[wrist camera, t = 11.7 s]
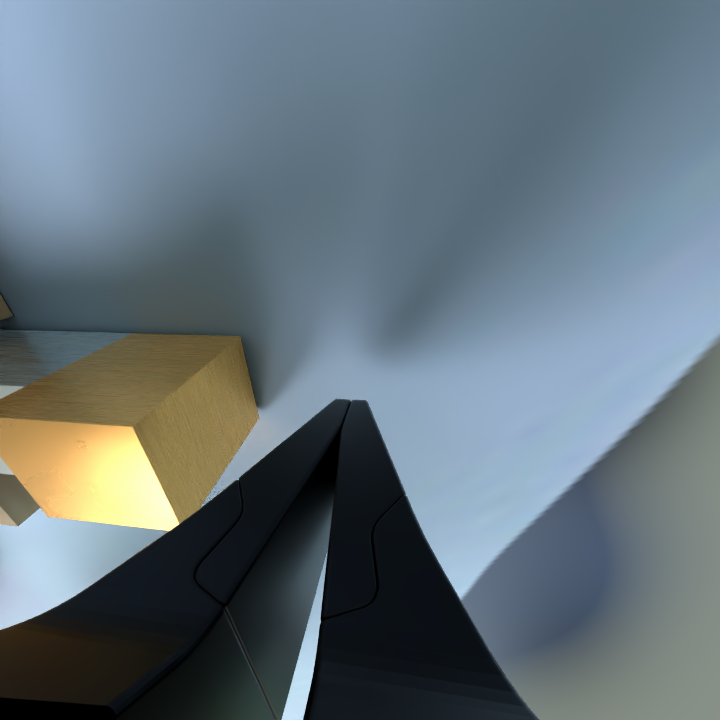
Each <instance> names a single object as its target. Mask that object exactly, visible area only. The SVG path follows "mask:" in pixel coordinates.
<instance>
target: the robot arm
mask: <svg viewBox="0 0 720 720" xmlns="http://www.w3.org/2000/svg"><path fill="white" fill-rule="evenodd" d="M327 549H328V554H327V563H326V573H325V582H324V591H323V601H322V610H321V624H320V629H319V638H318V645H317V653H316V659H315V666H314V672H313V678H312V683H311V687H310V692H309V696H308V701H307V705H306V710H305V714H304V718H303V720H539V719H538V718H537V717H536V716H535V714H534V713H533V712H532V711H531V710H530V708H529V707H528V706H527V704H526V703H525V702H524V701H523V699H522V698H521V697H520V696H519V694H518V693H517V691H516V690H515V689H514V687H513V686H512V684H511V683H510V682H509V680H508V679H507V677H506V676H505V674H504V672H503V671H502V669H501V668H500V666H499V665H498V663H497V662H496V660H495V658H494V657H493V655H492V653H491V652H490V650H489V649H488V647H487V645H486V643H485V642H484V640H483V638H482V636H481V635H480V633H479V631H478V630H477V628H476V626H475V624H474V623H473V621H472V619H471V617H470V616H469V614H468V612H467V610H466V609H465V607H464V605H463V604H462V602H461V600H460V598H459V597H458V595H457V593H456V591H455V590H454V588H453V586H452V584H451V583H450V581H449V579H448V578H447V576H446V574H445V572H444V571H443V569H442V567H441V565H440V564H439V562H438V560H437V558H436V556H435V554H434V552H433V551H432V549H431V547H430V545H429V543H428V541H427V539H426V538H425V536H424V534H423V531H422V529H421V527H420V525H419V523H418V521H417V518H416V516H415V514H414V512H413V510H412V507H411V505H410V502H409V500H408V498H407V496H406V494H405V491H404V488H403V486H402V484H401V481H400V479H399V476H398V474H397V472H396V469H395V467H394V464H393V462H392V460H391V457H390V455H389V452H388V450H387V448H386V445H385V443H384V440H383V438H382V435H381V433H380V431H379V428H378V426H377V423H376V421H375V419H374V416H373V414H372V411H371V409H370V407H369V404H368V402H367V401H365V400H352V401H350V400H346V399H335V400H334V401H332V402H331V403H330V404H329V405H328V406H326V407H325V408H324V409H323V410H321V411H320V412H319V413H318V414H317V415H315V416H314V417H313V418H312V419H310V420H309V421H308V422H307V423H306V424H304V425H303V426H302V427H301V428H299V429H298V430H297V431H296V432H294V433H293V434H292V435H291V436H290V437H288V438H287V439H286V440H285V441H283V442H282V443H281V444H280V445H279V446H277V447H276V448H275V449H274V450H272V451H271V452H270V453H269V454H268V455H266V456H265V457H264V458H263V459H261V460H260V461H259V462H258V463H257V464H255V465H254V466H253V467H252V468H250V469H249V470H248V471H247V472H246V473H244V474H243V475H242V476H241V477H240V478H239V480H236V481H234V482H233V483H232V484H231V485H229V486H228V487H227V488H226V489H225V490H223V491H222V492H221V493H220V494H218V495H217V496H216V497H214V498H213V499H212V500H211V501H209V502H208V503H207V504H205V505H204V506H203V507H202V508H200V509H199V510H198V511H196V512H195V513H194V514H192V515H191V516H189V517H188V518H187V519H185V520H184V521H183V522H181V523H180V524H178V525H177V526H176V527H174V528H173V529H171V530H170V531H169V532H167V533H166V534H164V535H163V536H161V537H160V538H159V539H157V540H156V541H154V542H153V543H151V544H150V545H149V546H147V547H146V548H144V549H143V550H141V551H140V552H138V553H137V554H136V555H134V556H133V557H131V558H130V559H128V560H127V561H126V562H124V563H123V564H121V565H120V566H118V567H117V568H115V569H114V570H113V571H111V572H110V573H108V574H107V575H105V576H104V577H103V578H101V579H100V580H98V581H97V582H95V583H94V584H92V585H91V586H89V587H88V588H86V589H85V590H83V591H82V592H80V593H79V594H77V595H76V596H74V597H72V598H71V599H69V600H67V601H65V602H64V603H62V604H60V605H59V606H57V607H55V608H53V609H51V610H49V611H47V612H45V613H43V614H41V615H38V616H36V617H34V618H31V619H29V620H27V621H24V622H22V623H19V624H16V625H13V626H11V627H8V628H5V629H2V630H0V720H281V719H282V716H283V712H284V708H285V704H286V701H287V697H288V693H289V690H290V686H291V682H292V679H293V675H294V671H295V667H296V664H297V660H298V656H299V653H300V649H301V645H302V642H303V638H304V634H305V631H306V627H307V623H308V619H309V616H310V612H311V608H312V605H313V601H314V597H315V594H316V590H317V586H318V582H319V579H320V575H321V571H322V568H323V564H324V560H325V557H326V553H327Z"/></svg>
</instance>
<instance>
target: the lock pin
mask: <svg viewBox="0 0 720 720" xmlns="http://www.w3.org/2000/svg"><path fill="white" fill-rule="evenodd" d="M258 419H259V415H258V411H257V407H256V402H255V398H254V394H253V389H252V385H251V381H250V376H249V372H248V368H247V363H246V359H245V355H244V350H243V346H242V342H241V337H240V336H216V335H179V334H142V333H106V332H69V331H32V330H0V473H1V474H11V475H15V476H16V477H17V478H18V480H19V481H20V482H21V484H22V485H23V486H24V487H25V489H26V490H27V491H28V492H29V494H30V495H31V496H32V497H33V499H34V500H35V501H36V502H37V504H38V505H39V506H40V507H41V509H42V510H43V511H44V513H45V514H46V515H47V516H48V517H56V518H64V519H73V520H81V521H90V522H98V523H107V524H115V525H124V526H132V527H141V528H149V529H158V530H166V531H170V530H171V529H173V528H174V527H176V526H177V525H178V524H180V523H181V522H183V521H184V520H185V519H187V518H188V517H189V516H191V515H192V514H194V513H195V512H196V511H198V510H199V508H200V507H201V505H202V504H203V502H204V501H205V499H206V498H207V496H208V495H209V493H210V492H211V490H212V489H213V487H214V486H215V484H216V483H217V481H218V480H219V478H220V477H221V475H222V474H223V472H224V471H225V469H226V468H227V466H228V464H229V463H230V461H231V460H232V458H233V457H234V455H235V454H236V452H237V451H238V449H239V448H240V446H241V445H242V443H243V442H244V440H245V439H246V437H247V436H248V434H249V433H250V431H251V430H252V428H253V427H254V425H255V424H256V422H257V421H258Z"/></svg>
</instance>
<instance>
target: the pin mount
mask: <svg viewBox="0 0 720 720" xmlns="http://www.w3.org/2000/svg"><path fill="white" fill-rule="evenodd" d="M12 316H13V315H12V313H11V311H10V310H9V308H8V306H7V305H6V303H5V301H4V300H3V298H2V296H1V295H0V320H2V319H5V318H9V317H12ZM39 508H40V506H39V505H38V504H37V502H36V501H35V500H34V499H33V497H32V496H31V495H30V494H29V492H28V491H27V490H26V489H25V487H24V486H23V485H22V484H21V482H20V481H19V480H18V478H17V477H16V476H15V475H11V474H1V473H0V524H3V525H11V526H19V525H20V524H21V523H23V522H24V521H25V520H26V519H27V518H28V517H30V516H31V515H32V514H33V513H34V512H36V511H37V510H38V509H39Z"/></svg>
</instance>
